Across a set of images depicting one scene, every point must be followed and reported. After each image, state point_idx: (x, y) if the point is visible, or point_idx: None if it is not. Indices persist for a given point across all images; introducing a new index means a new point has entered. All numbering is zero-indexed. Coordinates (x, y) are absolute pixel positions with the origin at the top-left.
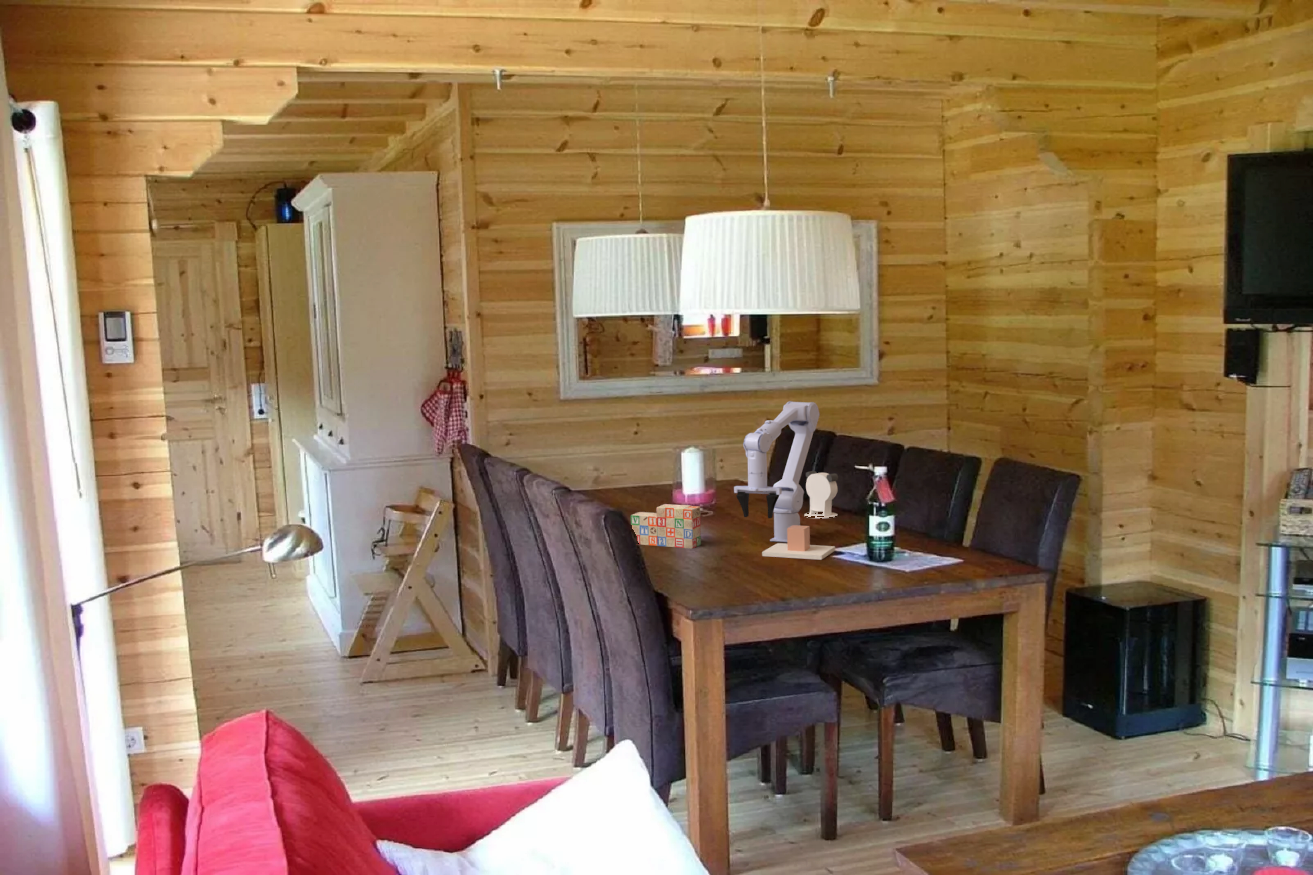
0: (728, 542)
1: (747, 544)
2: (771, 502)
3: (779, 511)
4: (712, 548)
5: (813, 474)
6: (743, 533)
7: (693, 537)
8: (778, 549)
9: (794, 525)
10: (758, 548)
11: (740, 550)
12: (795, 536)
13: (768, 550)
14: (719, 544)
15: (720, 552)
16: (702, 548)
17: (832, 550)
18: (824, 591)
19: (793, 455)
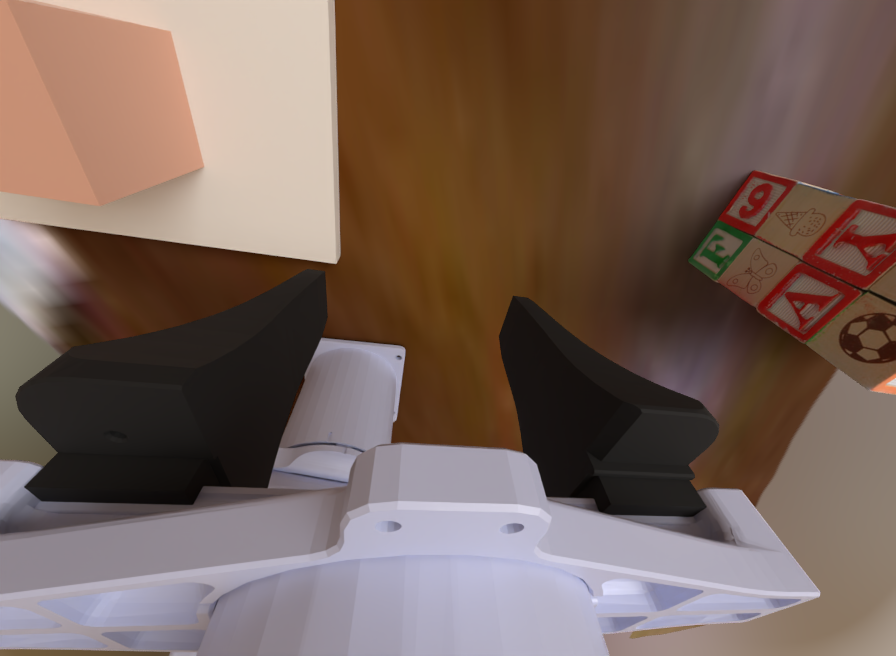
0: (564, 316)
1: (485, 291)
2: (180, 329)
3: (343, 458)
4: (651, 182)
5: None
6: (514, 432)
7: (791, 198)
8: (250, 64)
9: (76, 196)
10: (421, 212)
11: (506, 144)
12: None
13: (301, 6)
14: (604, 276)
15: (624, 59)
16: (702, 175)
17: None
18: None
19: None
